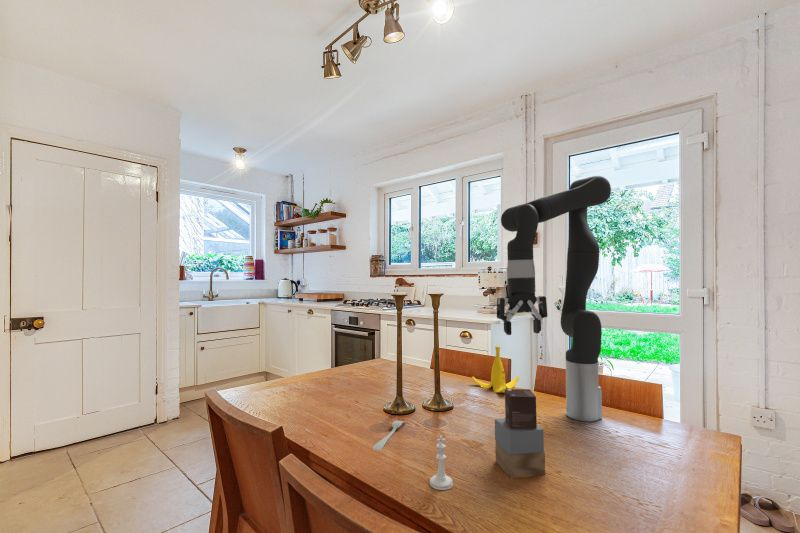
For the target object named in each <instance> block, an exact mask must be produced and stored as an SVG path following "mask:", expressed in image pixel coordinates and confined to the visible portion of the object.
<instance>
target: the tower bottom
mask: <svg viewBox="0 0 800 533" xmlns="http://www.w3.org/2000/svg"><path fill="white" fill-rule="evenodd" d="M495 462H496V463H497V464H498V465H499V466H500V467H501V468H502V470H503V471H504V472H505V473H506V474H507V475H508V476H509V477H510V478H511V479H518V478H527V477H536V476H541V475H542V476H543V475H546V452H545V451H544V452H539V453H528V454H518V455H510V454H509V453H508V452H507V451H506V450H505V449H503V448H502V447H501V446H500V445H499V444H498V443H497V442H496V441H495Z"/></svg>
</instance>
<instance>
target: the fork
mask: <svg viewBox="0 0 800 533" xmlns="http://www.w3.org/2000/svg"><path fill="white" fill-rule="evenodd" d="M403 423H404V421H402V420H394V421H392V423H391V426H392V430H391V431H390V432H389V433H388V434H387V435H386V436H384V437H382V439H380V440H379V441H378V442H376V443H375V444H374V445H373V446H372V450H374V451H382V449H383V447H384V446H385V444H386V443H387V441H388V440H389V439H390V437H391V436H392V435H393V434H394V433H395V432H396V430H397V429H398V428H400V427H401V426H402V425H403ZM405 423H406V424H407V423H408V422H407V421H405Z"/></svg>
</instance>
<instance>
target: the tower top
mask: <svg viewBox="0 0 800 533" xmlns="http://www.w3.org/2000/svg"><path fill="white" fill-rule="evenodd" d="M544 433H545V432H544V428H542V427H541V426H539V425H538V424H537V429H512V428H510V427H509V425H508V423H507V421H506V419H505V417H503V418H494V440H495V443H496V442H497V443H498V444H499V445H500V446H501V447H502V448H503V449H505V450H506V451H507V452H508V453H509V454H510V455H518V454H528V453H539V452H545V445H544V440H545V439H544V438H545V437H544V435H545V434H544Z"/></svg>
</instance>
